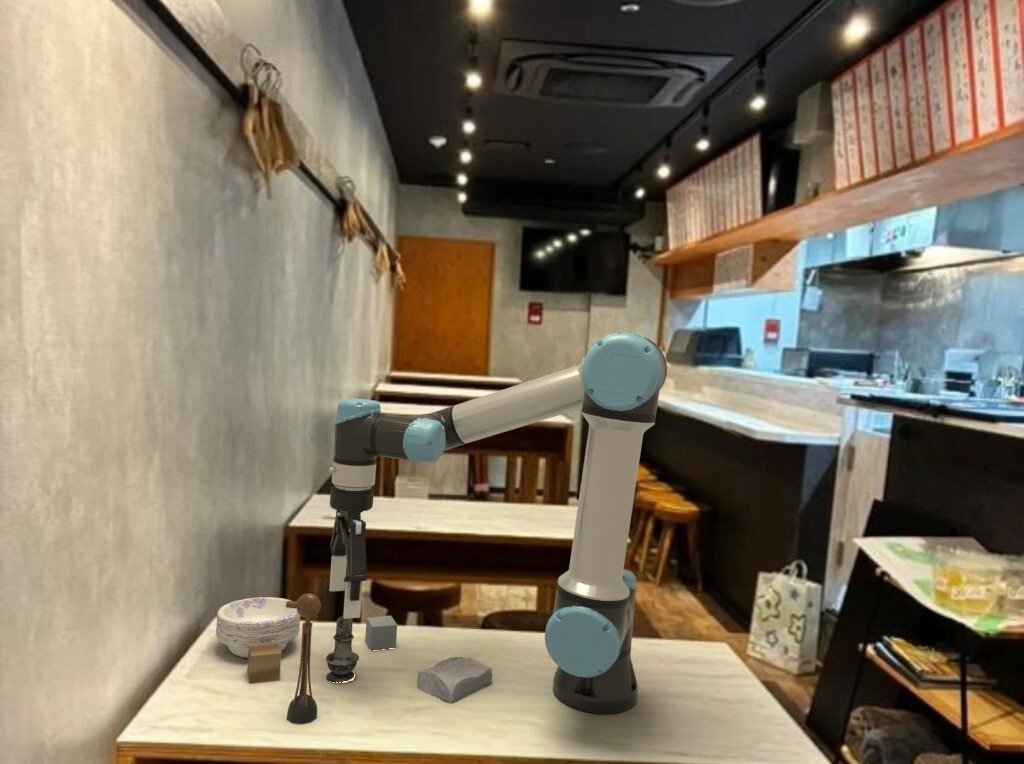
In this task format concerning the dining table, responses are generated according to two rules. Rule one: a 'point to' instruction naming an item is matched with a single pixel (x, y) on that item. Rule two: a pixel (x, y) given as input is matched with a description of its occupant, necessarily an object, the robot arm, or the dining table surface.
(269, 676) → the walnut cube
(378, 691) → the dining table surface
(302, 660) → the wooden tabletop sculpture
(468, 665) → the stone block
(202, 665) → the dining table surface
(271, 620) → the paper bowls
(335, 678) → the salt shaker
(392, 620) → the slate cube
